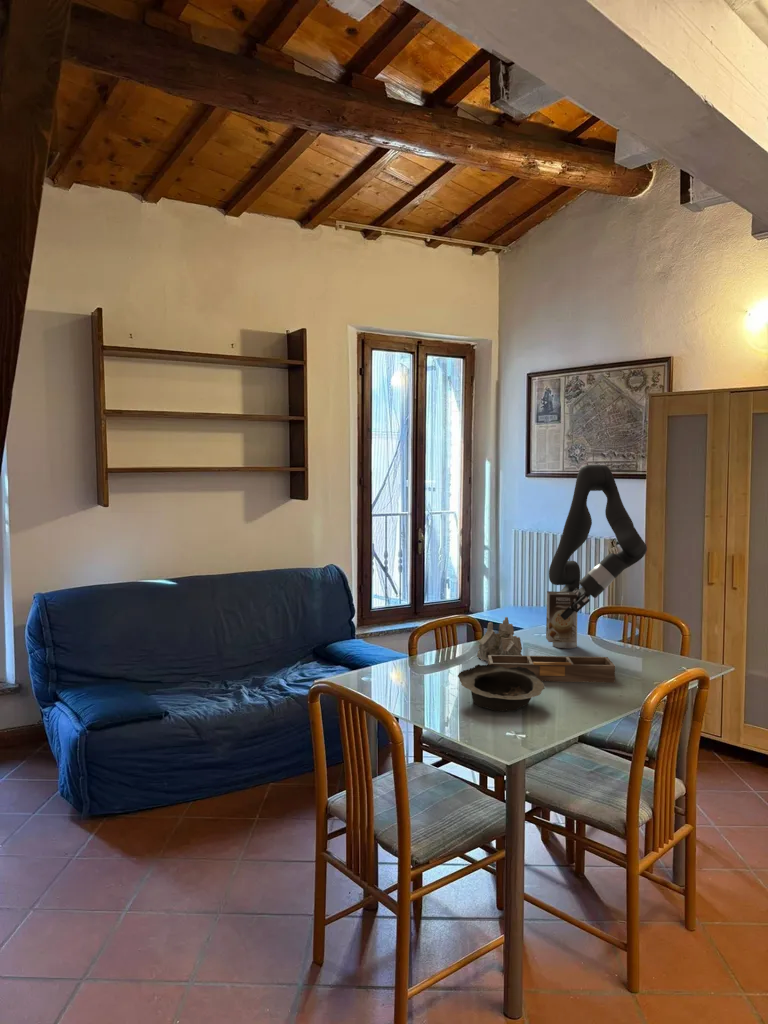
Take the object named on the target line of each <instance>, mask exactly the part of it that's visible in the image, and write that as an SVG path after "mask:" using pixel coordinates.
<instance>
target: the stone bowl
mask: <svg viewBox="0 0 768 1024" xmlns="http://www.w3.org/2000/svg"><path fill="white" fill-rule="evenodd" d="M457 678H458V679H459V682H460V683H461V686H462V687H464V688H465V689H467V690H469V691H470V693H471V698H472V701H473V703H474V704H475V705H476V706H478V707H479V708H483V709H484V708H486V709H488V710H492V711H493V712H509V711H510V712H515V711H517V710H518V709H520V708H523V707H525V706H526V705H528V703H530V701H531V699H532V698H535V697H537V696H540V695H541V694H542V691H543V690H545V689H546V688H545V684H544V681H540V680H539V679H538V678H536V675H535V673H534V672H532V671H530V670H528V669H527V668H522V667H517V668H516V667H514V668H504V667H500V666H496V665H495V666H494V665H493V664H492V665H489V664H488V663H487V664H479V663H478V664H477V665H474V667H470V668H467V669H465V670H462V671H460V672H459V673H458V675H457Z"/></svg>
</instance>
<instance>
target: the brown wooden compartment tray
mask: <svg viewBox="0 0 768 1024" xmlns="http://www.w3.org/2000/svg"><path fill="white" fill-rule="evenodd" d="M488 664H489V665H492V664H493V665H494V666H495V665H496V666H500V667H504V668H514V667H516V668H517V667H522V668H527V669H528V670H530V671H532V672H534V673H535V675H536V678H538V679H539V680H540V681H541V682H553V683H554V682H555V683H556V682H561V683H562V682H563V683H564V682H567V683H602V684H603V683H605V684H606V683H608V684H609V683H610V684H611V683H612V684H615V683H616V665H615V664H614V663H613V662H612V661H611V659H610V658H609V657H608V656H571V655H570V656H568V655H567V656H563V655H562V656H559V655H522V656H519V655H488V661H487V665H488Z"/></svg>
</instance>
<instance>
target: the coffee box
mask: <svg viewBox="0 0 768 1024" xmlns="http://www.w3.org/2000/svg"><path fill="white" fill-rule="evenodd" d="M574 599H576V602H577V594H576V593H574V592H559V591H556V590H555V591H554V590H553V591H552V590H551V591H546V618H545V619H546V622H545V624H546V628H545V639H546V640H547V641H548V643H553V642H565V643H576V619H577V620H578V612H577V613H576V612H575V613H574V612H573V613H572V614H571V615H570V616H569V617H568V618H567V619H566V620H564V619H563V618H562V617H561V614H562V613H563V612H564V611H565V610H566V609H567V608H569V606H570V605H571V604H572V603H573V602H572V601H573V600H574ZM576 607H577V606H576Z"/></svg>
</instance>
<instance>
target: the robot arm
mask: <svg viewBox="0 0 768 1024" xmlns="http://www.w3.org/2000/svg"><path fill="white" fill-rule="evenodd" d="M600 491H602V493H604V495H605V497H606V505H605V510H604V511H605V512H604V513H605V519H606V520H607V523H608V525H609V526H610V528H611V530H612V532H613V533H614V535H615V539H616V540H617V541H616V542H618V544H619V546H620V548H621V551H619V552H618V553H616V554H615V553H613V552H611V553H609V554H607V555H606V556H605V557H604V558H603V559H602V560H601V561H600V562H599V563H598V564H596V565H595V566H594V567H593V568H591V570H589V572H587V574H585V575H584V576H583V577H582V578H581V567H580V565H579V564H578V562H577V561H575V560H569V559H570V558H571V557H572V555H573V554H574V553H575V552H576V551H577V550H578V549H580V548H581V546H583V544H584V543H585V542H586V541H587V539H588V537H589V533H590V531H591V529H592V524H593V521H592V520H593V519H592V516H591V513H590V510H589V507H588V504H587V503H588V496H589V493H590V492H600ZM647 549H648V547H647V544H646V543H645V541H644V540H643V538H642V537H641V535H640V534H639V532H638V531H637V529H636V527H635V526H634V522H633V520H632V518H631V516H630V515H629V513H628V512H627V510H626V508H625V506H624V504H623V501H622V499H621V495H620V492H619V489H618V485H617V483H616V481H615V477H614V475H613V472H612V471H611V469H610V468H609V466H607V465H606V464H605V465H604V464H585V465H583V466H581V468H580V469H579V470H578V473H577V475H576V480H575V485H574V491H573V496H572V499H571V504H570V508H569V511H568V514H567V517H566V520H565V523H564V526H563V530H562V535H561V538H560V540H559V543H558V547H557V548H556V551H555V554H554V556H553V558H552V559H551V563H550V566H549V570H548V580H549V581H550V583H551V584H552V585H554V586H564V587H563V588H562V589H561V590H560V591H558V592H574V593H576V594H577V602H576V599H574V600H573V601H572V602H573V603H572V604H571V605H570V606H569V608H567V609H566V610H565V611H564V612H563V613H562V614H561V617H562V618H563V619H564V620H566V619H567V618H568V617H569V616H570V615H571V614H572V613H573V612H574V613H575V612H576V613H577V614H578V613H579V612H580V611H581V610H582V609H583V608H584V607H585V606H586V605H587V604H588V603H589V602H590V601H591V599H590V597H592V598H594V599H596V598H598V596H599V595H601V594H602V593H603V592H604V591H605V590H606V589H607V588H608V587H609V586H610V585H611V584H612V583H613V581H614V580H615V579H616V578H617V577H618V576H619V575H620V574H621V573H623V571H624V570H625V569H627V568H629V567H631V566H633V565H635V564H636V563H637V562H639V561H641V560H642V559H643V558H644V556H645V555H646V554H647V551H648V550H647ZM576 606H577V607H576ZM552 646H553V647H555V648H559V649H575V648H577V646H578V618H577V619H576V643H565V642H552Z"/></svg>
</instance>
